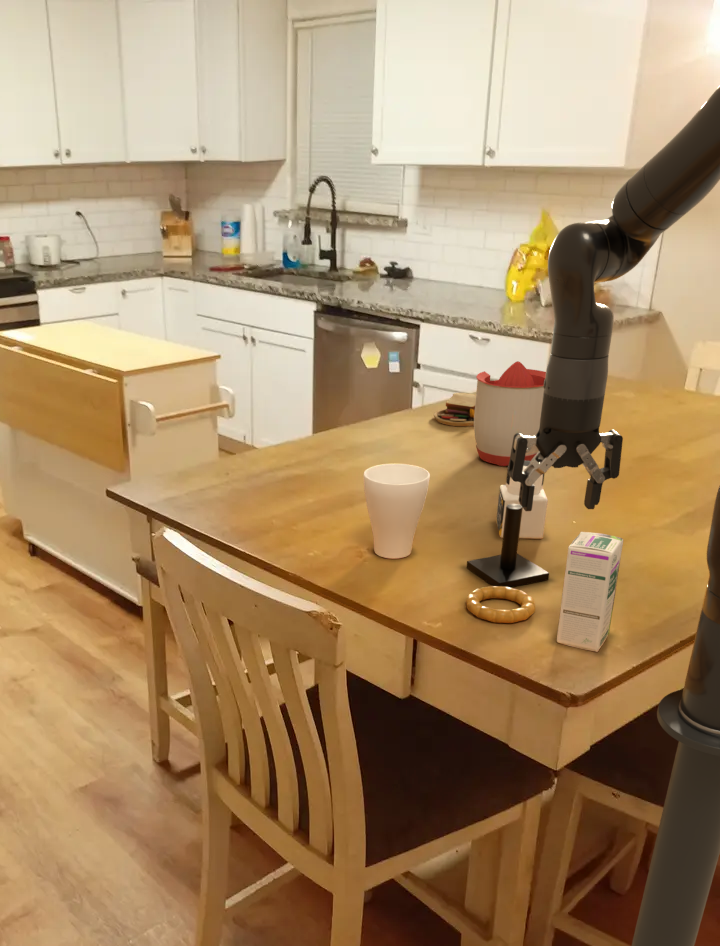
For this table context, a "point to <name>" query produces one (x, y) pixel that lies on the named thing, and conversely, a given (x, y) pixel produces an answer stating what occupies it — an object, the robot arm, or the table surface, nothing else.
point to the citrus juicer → (507, 411)
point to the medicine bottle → (530, 519)
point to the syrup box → (589, 590)
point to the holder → (508, 558)
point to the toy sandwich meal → (458, 410)
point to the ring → (500, 615)
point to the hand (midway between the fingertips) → (558, 508)
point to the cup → (395, 506)
